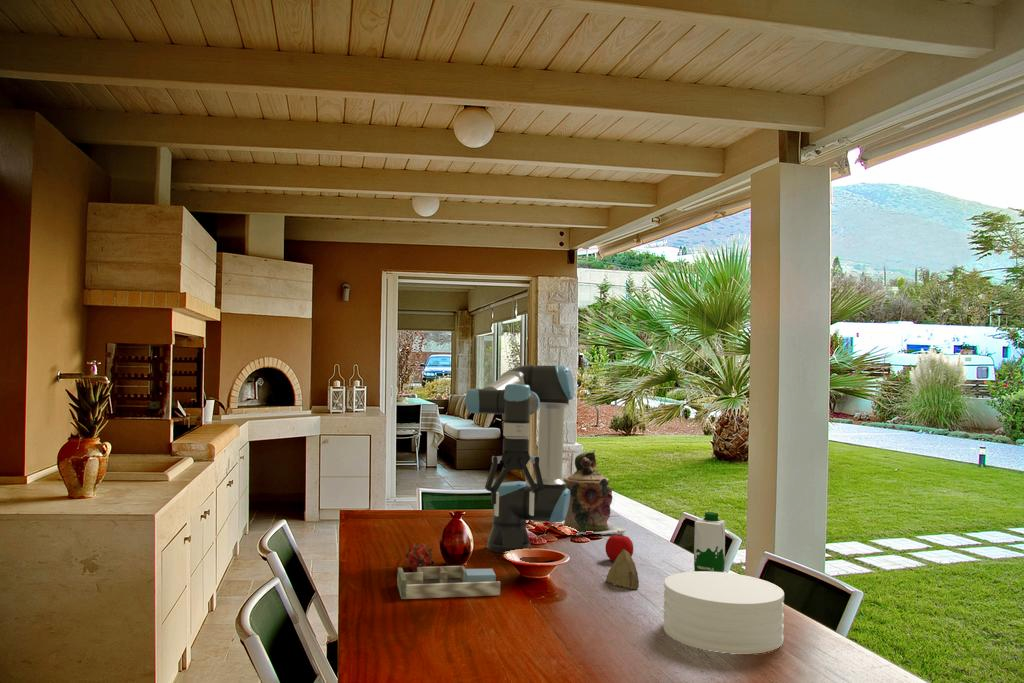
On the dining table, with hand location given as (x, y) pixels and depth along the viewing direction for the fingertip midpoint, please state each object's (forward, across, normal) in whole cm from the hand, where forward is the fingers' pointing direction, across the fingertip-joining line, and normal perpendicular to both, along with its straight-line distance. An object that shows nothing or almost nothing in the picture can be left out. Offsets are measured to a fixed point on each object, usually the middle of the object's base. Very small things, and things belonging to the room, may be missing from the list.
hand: (513, 515), depth 218 cm
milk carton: (+21, +62, 0) cm, 65 cm away
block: (+21, -10, 0) cm, 23 cm away
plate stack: (+21, +42, -45) cm, 65 cm away
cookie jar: (+21, +49, +76) cm, 92 cm away
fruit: (+21, +43, +26) cm, 54 cm away
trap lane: (+21, -19, +3) cm, 28 cm away
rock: (+21, +33, -2) cm, 39 cm away
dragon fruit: (+21, -24, +23) cm, 39 cm away
